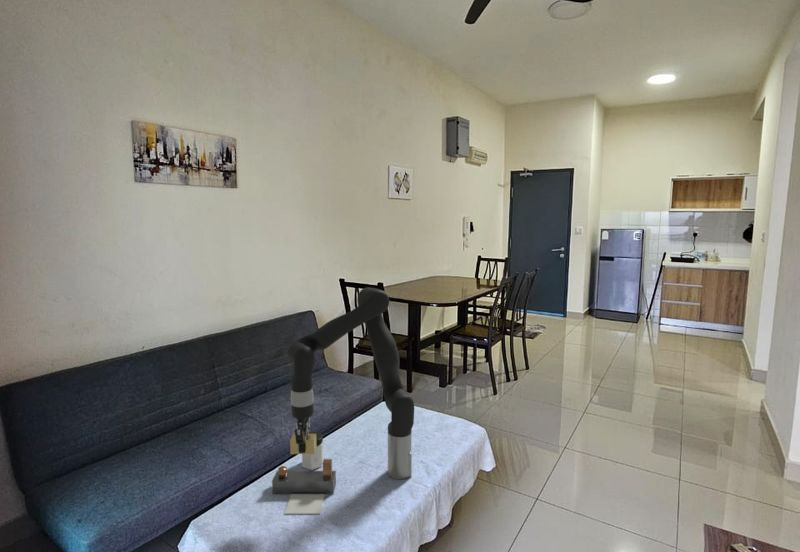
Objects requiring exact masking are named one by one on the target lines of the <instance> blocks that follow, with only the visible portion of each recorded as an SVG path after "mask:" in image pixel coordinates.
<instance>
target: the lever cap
mask: <svg viewBox="0 0 800 552" xmlns="http://www.w3.org/2000/svg"><path fill="white" fill-rule="evenodd" d="M305 446H306V451H305V453H299V445H298V444H296V437H295V433H292V435H291V438H290V439H289V447H290V450H289V451H290V455H302V454H314V453H315V450H316V447H317V444H316V434H307V435H306V442H305Z"/></svg>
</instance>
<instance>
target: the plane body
mask: <svg viewBox="0 0 800 552" xmlns="http://www.w3.org/2000/svg"><path fill="white" fill-rule="evenodd" d="M287 469H288V468H287V466H286V465H285V466H284V465H283V466H279V467H278V469H277V471H276V472H275V474H274V476H273V478H272V481H271V482H272V483H271V484H272V486H271V487H272V488H271V489H272V495H291V494H325V495H334V494H335V489H336V484H337V475H336V474H337V473H336V470H333V459H332V458H323V464H322V470H287Z"/></svg>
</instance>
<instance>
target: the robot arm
mask: <svg viewBox="0 0 800 552" xmlns="http://www.w3.org/2000/svg"><path fill="white" fill-rule="evenodd" d="M389 306H390V298H389V295H388V293H386V291H384V290H382V289H378V288H374V287H364V288H362V289H361V290H360V291H359V293H358V294H357V307H355V308H353V309H352V310H350V311H349V312H346V313H344V314H342V315H339V316H336V317H335V318H332V319H331V320H330V321H328V322H326V323H325V324H323V325H322V326H320V327H319V328H317V329H316V330H315V331H313V332H311V333H309V334H307V335H305V336H303V337H300V338H299V339H297V340H295V341H294V342H292V343H291V344H290V345H289V346H288V349H287V353H286V354H287V357H288V359H289V360H290V361H291V362H292V363H293V366H294V368H293V369H294V371H293V372H292V373H291V375H290V391H291V392H290V410H291V411H290V413H291V417H292V418H294V419H295V420H297V421H296V422H295V427H296V428H295V429H294V434H295V437H296V444H298V445H299V453H305V451H306V446H305V442H306V435H307V434H309V432H310V430H311V418H312V416H313V415H314V414H315V405H314V404H315V402H314V401H315V400H314V391H313V389H314V387H313V372H314V369H315V361H316V359H315V356H316V355H315V353H314V352H316V351H319V350H321V351H323V350H326V349H328V348H329V347H330V346H332V345H333V344H335V343H336V342H338V340H340V339H341V338H343V337H344V336H345V335H347V334H349V333H350V332H351V331H353V330H354V329H356V328H358V327H359V326H361V325H363V324H364V325H365V327H366V331H367V335H368V340H369V344H370V346H371V350H372V351H371V352H372V354H373V355H372V356H373V358H374V363H375V365H376V368H377V373H378V375H379V378H380V380H381V385H382V388H383V389H382V392H383V396H384V402H385V406H386V408H387V409H388V410H389V412H390V413H391V415H390V416H391V417H390V418H391V421H390V422H389V423H388V424H387V474H388V476H389V477H390V478H392V479H395V480H404V479H407V478H412V467H413V466H412V461H413V460H412V458H413V456H412V432H413V431H412V429H413V427H414V422H415V421H414V419H415V402H414V399H413V398H412V397H411V396H410V394H408V393H407V392H406V391H405V389H404V386H403V384H402V380H401V378H400V360H401V359H400V355H399V350H398V346H397V343H396V340H395V338H394V336H393V335H392V333H391V331H390V330H389V328H388V326H387V324H386V323H385V320H384V317H383V313H385V312H386V311H387V309H388V308H389Z"/></svg>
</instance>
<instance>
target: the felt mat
mask: <svg viewBox="0 0 800 552" xmlns="http://www.w3.org/2000/svg"><path fill="white" fill-rule="evenodd" d="M325 497H326V494H290V498H289V499H288V503H287V504H286V505H287V506H286V508H285V512H284V515H321V513H322V512H321V511H322V508H323V504H324V500H325Z"/></svg>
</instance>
